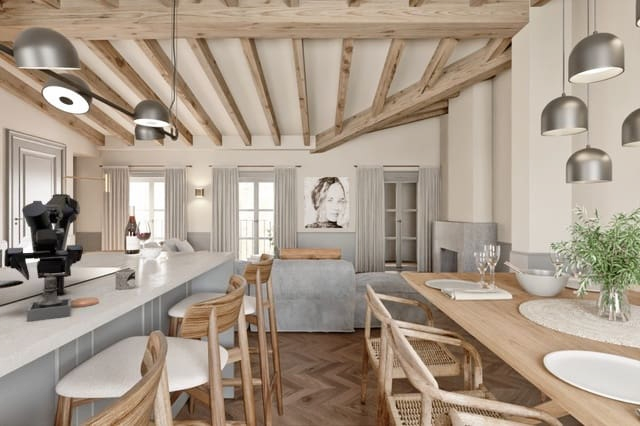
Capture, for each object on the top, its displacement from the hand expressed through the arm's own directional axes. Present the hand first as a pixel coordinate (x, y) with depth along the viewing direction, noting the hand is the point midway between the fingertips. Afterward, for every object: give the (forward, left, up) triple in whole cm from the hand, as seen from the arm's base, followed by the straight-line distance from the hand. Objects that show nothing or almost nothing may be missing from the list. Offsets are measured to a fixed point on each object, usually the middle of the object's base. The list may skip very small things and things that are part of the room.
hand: (48, 277), depth 106 cm
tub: (+3, +1, -10) cm, 11 cm away
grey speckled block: (-27, +23, -11) cm, 37 cm away
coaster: (-6, +9, -10) cm, 15 cm away
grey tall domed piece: (+3, +1, -11) cm, 11 cm away
